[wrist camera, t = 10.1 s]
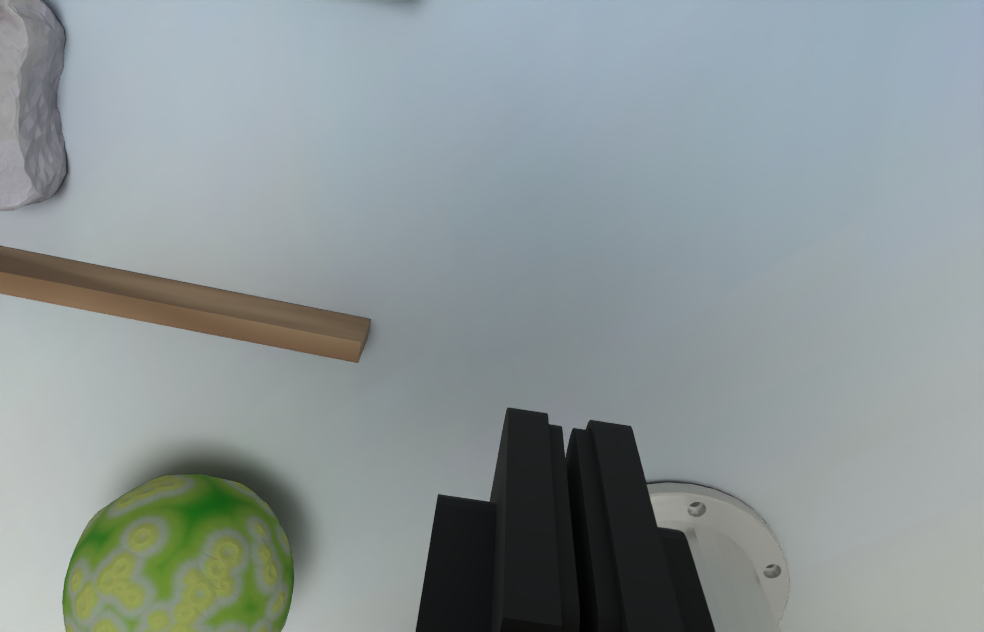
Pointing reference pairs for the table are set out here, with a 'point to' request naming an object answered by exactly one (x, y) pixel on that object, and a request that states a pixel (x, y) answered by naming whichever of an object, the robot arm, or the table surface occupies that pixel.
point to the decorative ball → (181, 562)
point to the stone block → (30, 103)
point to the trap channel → (181, 305)
